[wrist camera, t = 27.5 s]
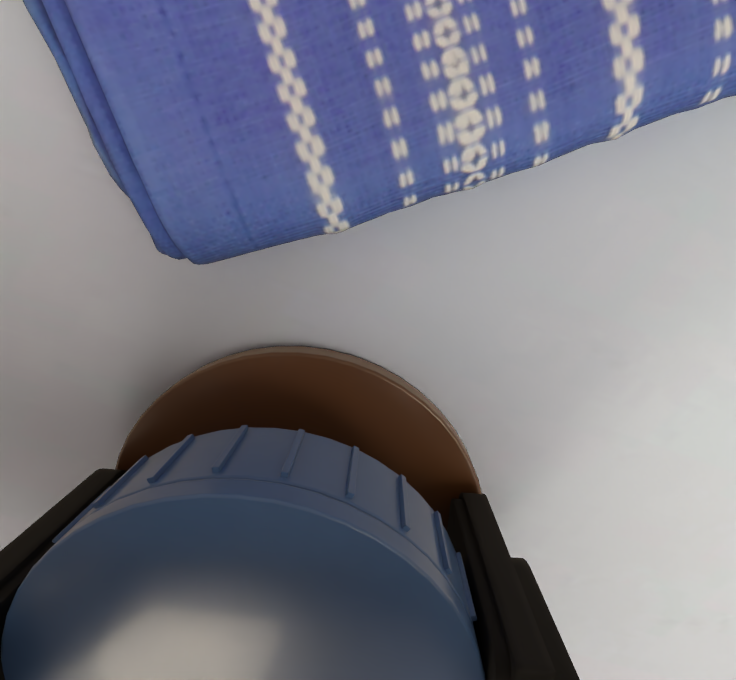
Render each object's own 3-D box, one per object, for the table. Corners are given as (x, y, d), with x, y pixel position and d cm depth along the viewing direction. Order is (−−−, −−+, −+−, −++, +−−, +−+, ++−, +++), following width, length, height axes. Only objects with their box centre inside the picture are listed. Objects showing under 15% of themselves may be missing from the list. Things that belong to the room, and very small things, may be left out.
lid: (61, 408, 7) (-51, 470, 5) (490, 439, 7) (531, 514, 5) (105, 718, 9) (35, 843, 7) (442, 746, 9) (458, 881, 7)
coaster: (458, 664, 11) (462, 687, 11) (140, 640, 12) (127, 662, 11) (504, 357, 9) (512, 366, 9) (105, 332, 9) (87, 339, 9)
